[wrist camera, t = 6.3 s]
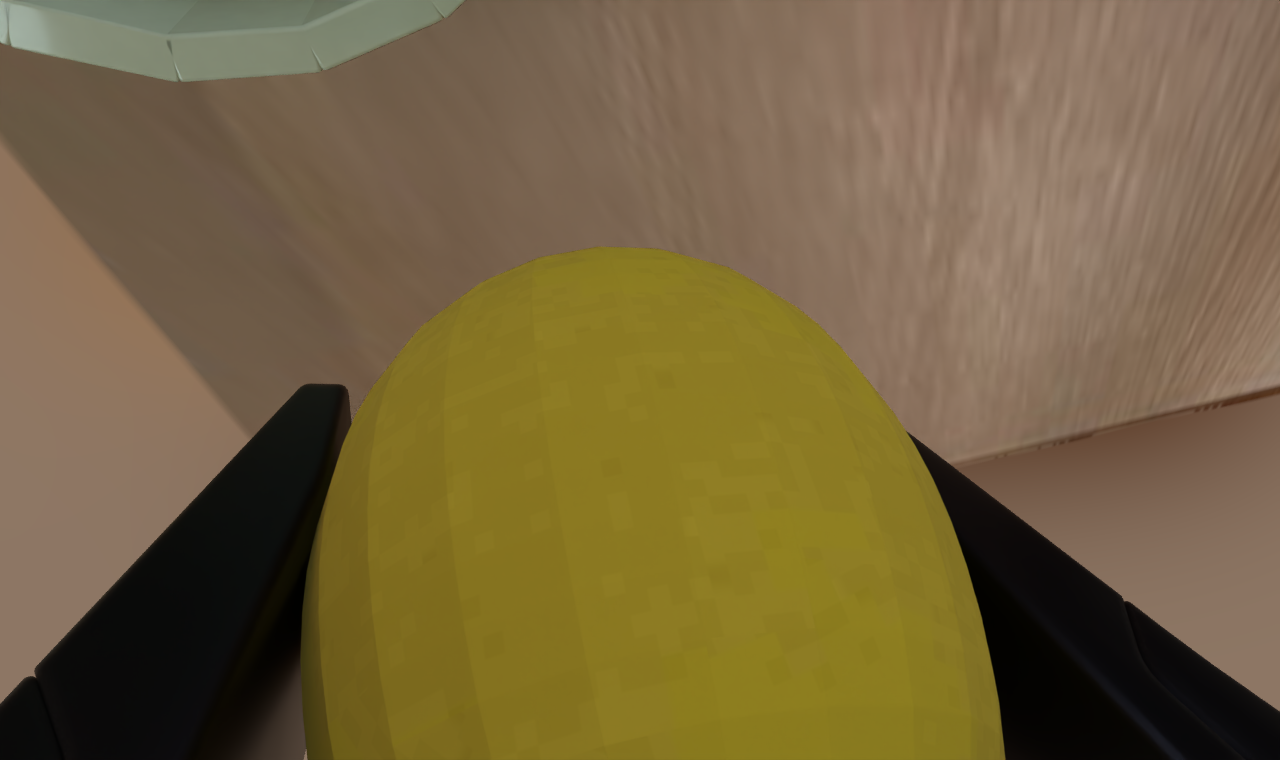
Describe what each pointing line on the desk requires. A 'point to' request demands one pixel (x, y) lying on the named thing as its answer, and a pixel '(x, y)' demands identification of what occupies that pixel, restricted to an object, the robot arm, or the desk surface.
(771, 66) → the desk surface
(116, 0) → the bowl
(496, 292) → the lemon
